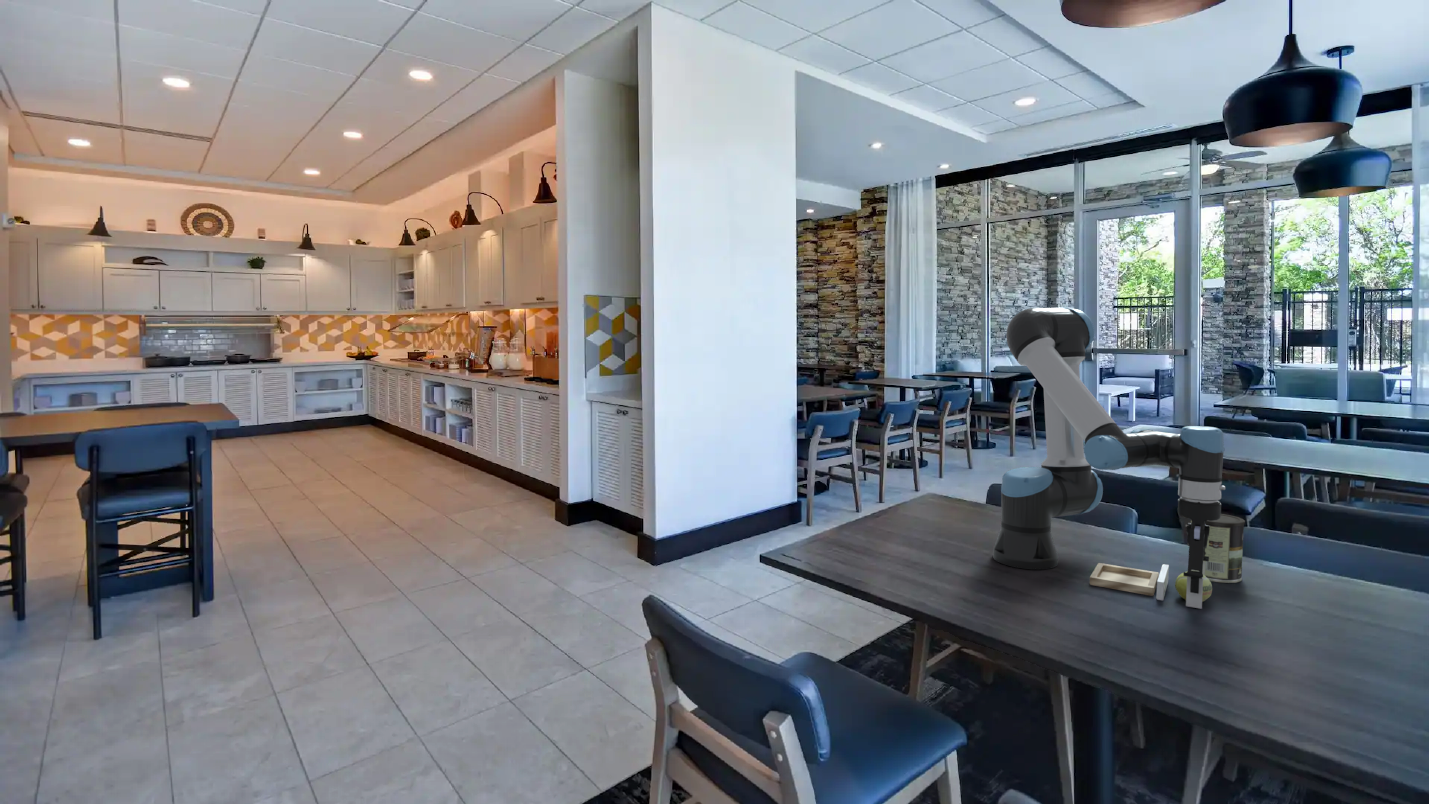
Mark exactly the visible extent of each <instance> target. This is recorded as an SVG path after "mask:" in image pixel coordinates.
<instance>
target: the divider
mask: <svg viewBox="0 0 1429 804" xmlns="http://www.w3.org/2000/svg"><path fill="white" fill-rule="evenodd" d="M1169 573H1170V565H1169V564H1165V563H1164V564H1163V563H1162V565H1161V569H1160V571H1159V577H1158V580H1157V586H1156V597H1155V598H1156V600H1158V601H1164V598H1165V594H1166V591H1167V587H1168V584H1169V576H1170V575H1169Z"/></svg>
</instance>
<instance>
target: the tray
mask: <svg viewBox="0 0 1429 804" xmlns="http://www.w3.org/2000/svg"><path fill="white" fill-rule="evenodd" d="M1159 574H1160V571H1159V572H1158V571H1150V570H1146V569H1139V568H1133V567H1128V566H1127V567H1126V566H1119V565H1115V564H1108V563H1104V562H1103V563H1101V562H1098V563H1097V565H1096V566H1095V568H1094V570H1093V571H1092V573H1091V575H1090V576H1089V585H1090V586H1094V587H1095V586H1096V587H1102V588H1106V589H1111V590H1117V591H1123V592H1128V593H1132V594H1133V593H1135V594H1139V595H1140V594H1141V595H1145V596H1151V597H1154V595H1155V594H1156V593H1155V592H1156V591H1157V580H1158V577H1159Z"/></svg>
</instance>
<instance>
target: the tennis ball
mask: <svg viewBox="0 0 1429 804" xmlns="http://www.w3.org/2000/svg"><path fill="white" fill-rule="evenodd" d="M1174 587H1175V590H1176V592H1177V594H1178V595H1179V596H1180V597H1181V598H1182V599H1183V600H1185V601H1186V593H1187V576H1184V572H1182V573H1180V574H1179V575H1178V576H1177V577H1176V579H1175V584H1174ZM1212 593H1213V585H1212V581H1210V580H1209V579H1208V578H1207V577H1206V576H1205V575H1204V574H1203V593H1202V603H1203V602H1205V601H1206V600H1208V599H1209V598H1210V597H1211V596H1212Z"/></svg>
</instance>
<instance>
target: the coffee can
mask: <svg viewBox="0 0 1429 804" xmlns="http://www.w3.org/2000/svg"><path fill="white" fill-rule="evenodd" d="M1190 523H1192V520H1191V519H1190ZM1245 523H1246V520H1244V519H1243V518H1242V517H1239V516H1235V515H1230V514H1226V513H1221V517H1220V519H1218V520H1214V521H1209V520H1207V521H1206V525H1208V526H1210V531H1209V537H1208V541H1207V548H1205V552H1206V554H1205V556H1208V557H1209V561H1203V562H1205V576H1206V577H1207V578H1208V579H1209V580H1210V582H1214V583H1215V582H1216V583H1220V584H1221V583H1224V584H1225V583H1226V584H1231V583H1232V584H1237V583H1240V582H1242V580H1243V577H1242V575H1243V574H1242V573H1243V548H1244V531H1245V530H1244V529H1245V528H1244V526H1245Z"/></svg>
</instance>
